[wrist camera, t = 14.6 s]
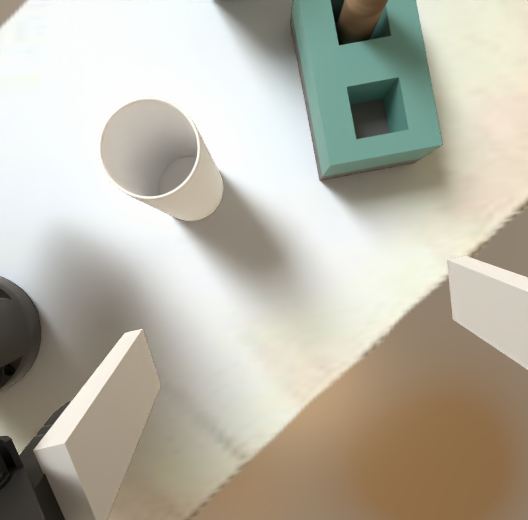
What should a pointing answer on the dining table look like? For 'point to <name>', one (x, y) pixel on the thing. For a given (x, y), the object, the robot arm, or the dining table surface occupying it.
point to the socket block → (365, 89)
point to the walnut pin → (358, 20)
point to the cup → (160, 158)
